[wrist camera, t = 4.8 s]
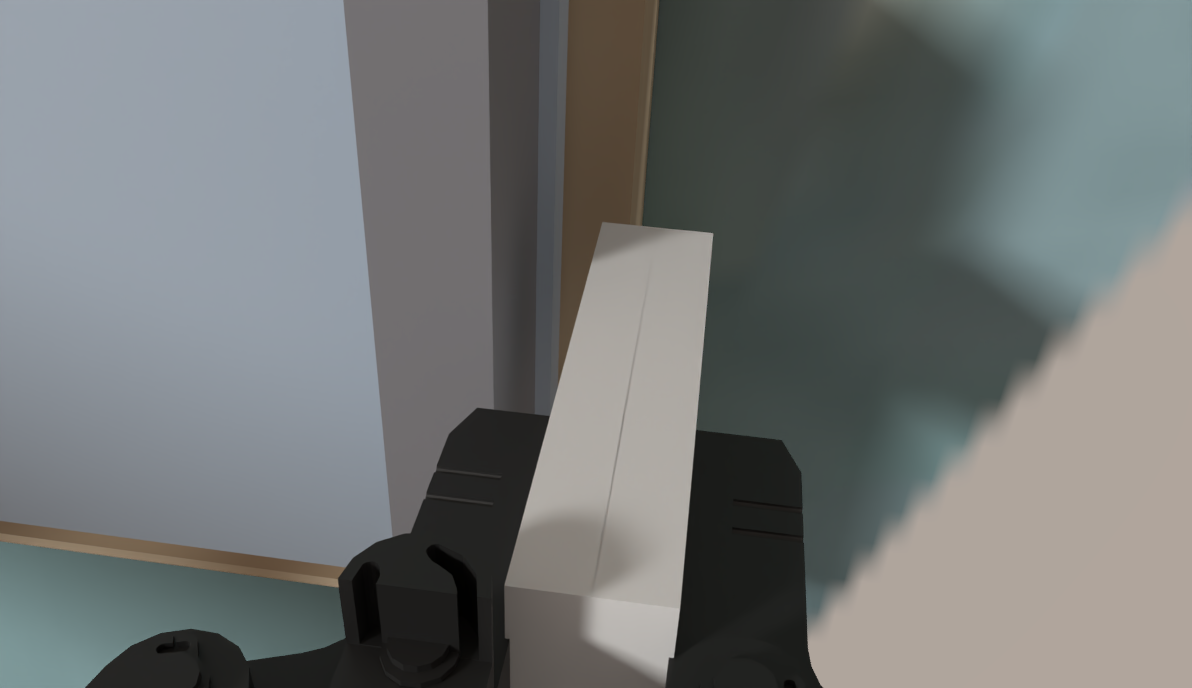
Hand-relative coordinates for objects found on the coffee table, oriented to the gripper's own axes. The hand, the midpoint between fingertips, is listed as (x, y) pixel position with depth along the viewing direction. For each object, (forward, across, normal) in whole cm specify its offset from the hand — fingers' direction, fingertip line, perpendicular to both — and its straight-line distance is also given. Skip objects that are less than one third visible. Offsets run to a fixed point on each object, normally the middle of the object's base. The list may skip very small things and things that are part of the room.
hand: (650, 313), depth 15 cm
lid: (+2, -9, 0) cm, 9 cm away
